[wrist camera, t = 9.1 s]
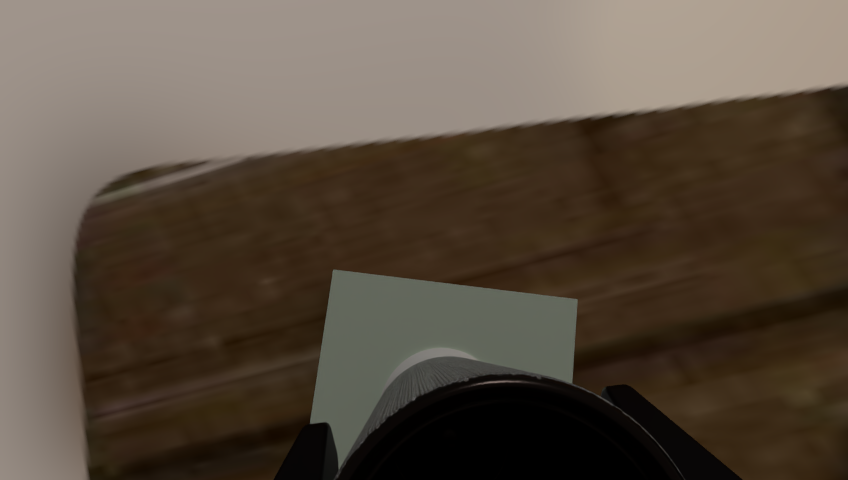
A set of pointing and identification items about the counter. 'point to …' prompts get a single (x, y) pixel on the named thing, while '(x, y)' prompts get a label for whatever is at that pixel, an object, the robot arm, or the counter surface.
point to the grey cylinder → (499, 430)
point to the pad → (427, 339)
